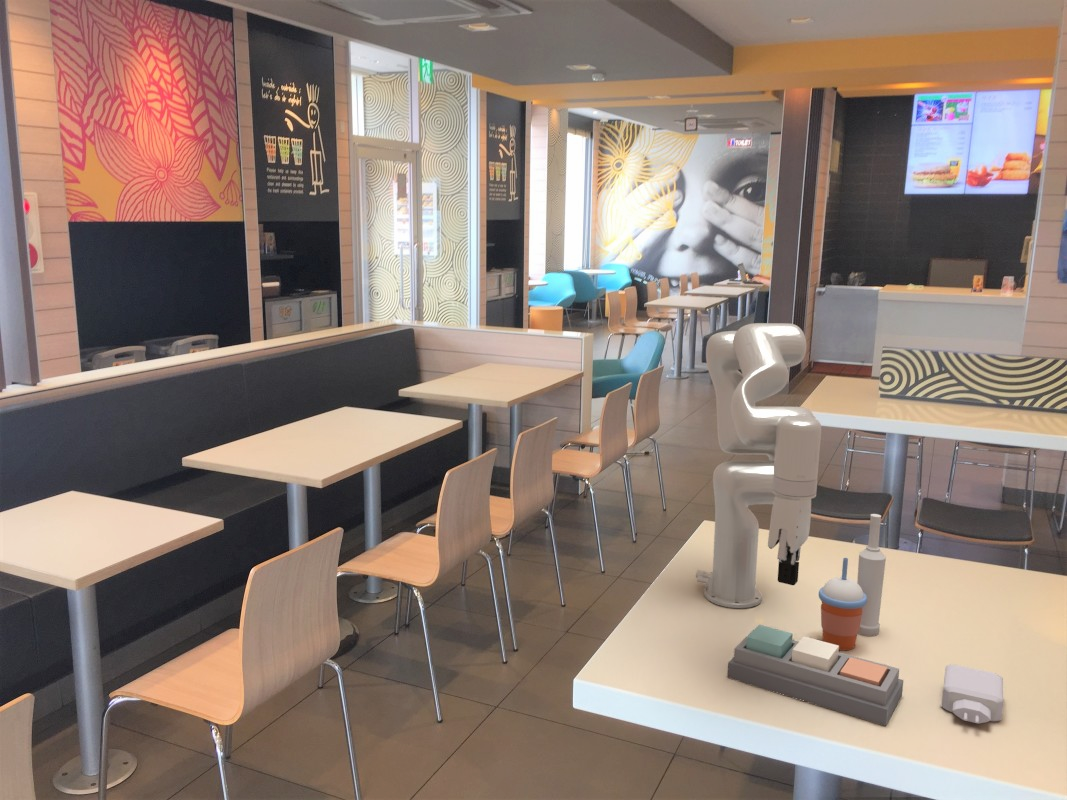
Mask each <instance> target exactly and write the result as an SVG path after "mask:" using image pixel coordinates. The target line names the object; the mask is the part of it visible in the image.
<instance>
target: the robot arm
mask: <svg viewBox="0 0 1067 800" xmlns="http://www.w3.org/2000/svg"><path fill="white" fill-rule="evenodd" d="M807 346H808V345H807V339H806V336H805V333H804V331H803V330H802V329H801V327H799V326H798V325H796V324H794V323H787V322H785V323H784V322H783V323H779V322H778V323H777V322H775V323H773V322H772V323H771V322H767V323H766V322H765V323H764V322H757V323H756V322H755V323H748V324H746V325H743V326H741V327H740V328H739V329H737V330H728V331H727V330H726V331H720V332H717V333H715V334H713V335H711V336H710V337H709V338H708V339H707V342H706V347H705V361H706V366H707V371H708V374H709V376H710V379H711V382H712V384H713V389H714V391H715V403H716V404H715V405H716V406H715V407H716V425H717V426H716V428H717V439H718V445H719V447H720V449H721V450H722V452H723V453H726V454H729V455H730V454H731V455H746V456H750V455H752V456H753V455H765V456H767V457H768V460H750V459H749V460H747V459H746V460H736V459H735V460H729V461H723V462H722V463H720V464H718V465H717V466H716V467H715V468H714V471H713V473H712V487H713V494H714V496H713V497H714V510H715V511H714V513H715V515H714V536H713V537H714V538H713V540H714V541H713V556H712V557H713V558H712V559H713V560H712V571H711V572H707V571H704V570H703V571H702V570H700V569H698V570H697V571H696V573H695V578H696V582H697V583H700V584H705V586H706V587H705V588H704V597H705V598H706V599H707V601H709V602H711V603H713V604H715V605H718V606H722V607H725V608H731V609H748V608H752V607H755V606H757V605H760V603H762V600H763V599H762V598H763V595H762V592H761V591H760V590H759V589H758V588H757V587H756V583H757V582H756V580H757V563H758V561H757V560H758V547H759V546H758V545H759V533H760V531H759V529H760V526H759V524H760V523H759V521H758V518H757V517H756V516H755V514H754V513H753V511H751V510H750V508H749V506H752V505H772V506H771V507H772V508H771V514H770V520H769V521H770V522H769V529H768V531H769V532H768V538H767V548H768V549H771V550H772V549H774V548H775V547H776V546H777V545H778V550H777V557H776V558H777V560H778V566H777V567H778V569H777V581H778V583H781V584H786V585H790V586H796V584H797V583H798V580H799V569H800V568H799V567H800V562H799V561H800V556H801V547H802V546H803V545H804V544H805V543H806V541H808V539H809V535H810V529H811V528H810V527H811V519H812V518H811V514H812V499H815V498H816V497H817V489H818V475H819V474H818V473H819V462H820V451H821V449H820V448H821V441H822V440H821V438H822V425H821V423H820V421H819V420H818V419H816V417H815V416H814V414H813V412H812V411H811V410H810V409H809V408H807V407H804V406H777V405H776V406H773V405H772V406H771V405H769V406H767V405H766V406H765V405H762V406H759V405H757V406H756V403H758V402H760V401H763V400H765V399H767V398H770V397H772V396H774V395H776V394H777V393H779V392H781V391H782V390H783V389H784V388H785V387H786V385H787V384H788V382H789V377H790V376H789V375H790V373H789V369H788V368H792V367H795V366H797V365H799V364H800V363H801V362H802V361H803V360H804V358H805V357H806V355H807V354H806V353H807ZM739 370H740V371H739Z"/></svg>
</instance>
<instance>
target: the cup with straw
mask: <svg viewBox="0 0 1067 800" xmlns="http://www.w3.org/2000/svg"><path fill="white" fill-rule="evenodd" d="M848 563H849V558H847V557H843V558H842V570H841V571H842V572H841V576H838V577H834V578H831V579H829V580H828V581H826V583H824V585H823V586H822V587H821V588H820V589H819V591H818V598H819V599H820V601H821V604H820V620H821V621H820V622H821V624H820V625H821V629H822V641H823V642H827V643H831V644H835V645H838V646H839V651H849V650H853V649H854V648H855V647H856V645H857V644H856V642H857V639H858V635H859V634H858V633H859V629H860V623H861V618H862V613H863V611H862V607H863V606H865V605H866V603H867V597H866V595H865V594H864V593H863V591H862V589H861V587H860V586H859V585H858V584H857V581H855V580H853V579H851V578H849V577H848V566H849V564H848Z"/></svg>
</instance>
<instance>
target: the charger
mask: <svg viewBox="0 0 1067 800" xmlns="http://www.w3.org/2000/svg"><path fill="white" fill-rule="evenodd" d="M1003 678H1004V677H1002V675H1000V674H997V673H996V672H992V671H987V670H984V669H983V670H982V669H979V668H978V669H977V668H973V667H969V666H962V665H958V664H947V665H946V666H945V670H944V678H943V679H944V680H943V688H942V695H941V696H942V697H941V707H942V708H943V709H944V710H945V711H947V712H950V713H953V714H954V715H955V716H956V717H958V718H959V719H961V720H962V721H966V722H969V723H970V722H971V723H973V724H974V723H975V724H983V723H988V722H1000V721H1001V720H1002V716H1003V710H1004V709H1003V708H1004V679H1003Z"/></svg>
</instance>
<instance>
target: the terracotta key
mask: <svg viewBox="0 0 1067 800" xmlns="http://www.w3.org/2000/svg"><path fill="white" fill-rule="evenodd" d="M887 668H888V667H885V666H881V665H878V664H874V663H870V662H867V661H863V660H859V659H855V658H852V657H850V658H849V660H848V661H847V662H846V664H845V665H844V667H843V668H842V670H841V671H840V675H841V676H844V677H848V678H851V679H855V680H858V681H862V682H865V683H869V684H872V685H876V686H879V687H881V685H882V683H883V682H884V680H885V678H886V676H887Z"/></svg>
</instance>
